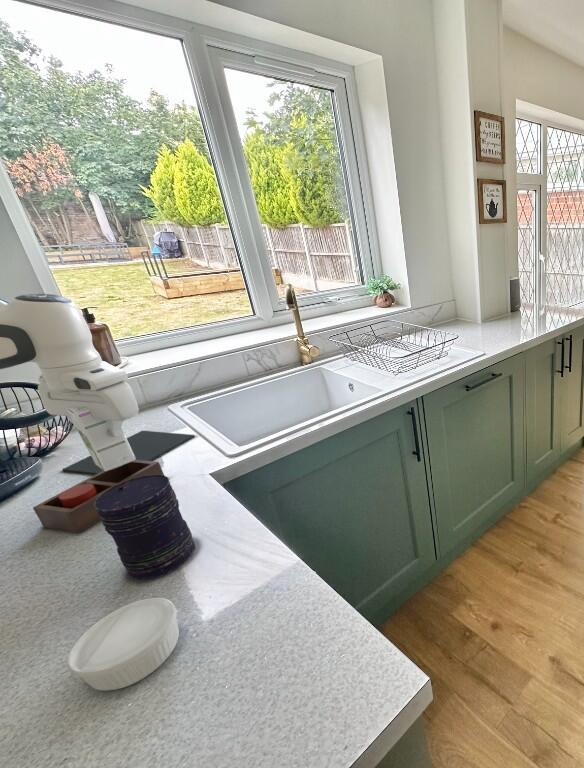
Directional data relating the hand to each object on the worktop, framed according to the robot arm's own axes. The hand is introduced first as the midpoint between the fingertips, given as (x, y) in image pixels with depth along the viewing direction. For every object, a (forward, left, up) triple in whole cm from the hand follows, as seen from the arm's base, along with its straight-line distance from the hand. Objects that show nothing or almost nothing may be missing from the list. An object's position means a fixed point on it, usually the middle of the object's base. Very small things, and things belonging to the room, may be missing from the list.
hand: (102, 434), depth 89 cm
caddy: (0, -4, -15) cm, 15 cm away
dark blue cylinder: (+28, -16, -15) cm, 36 cm away
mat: (-16, +14, -15) cm, 26 cm away
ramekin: (+42, -32, -15) cm, 55 cm away
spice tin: (0, -8, -15) cm, 17 cm away
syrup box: (0, 0, -8) cm, 8 cm away
